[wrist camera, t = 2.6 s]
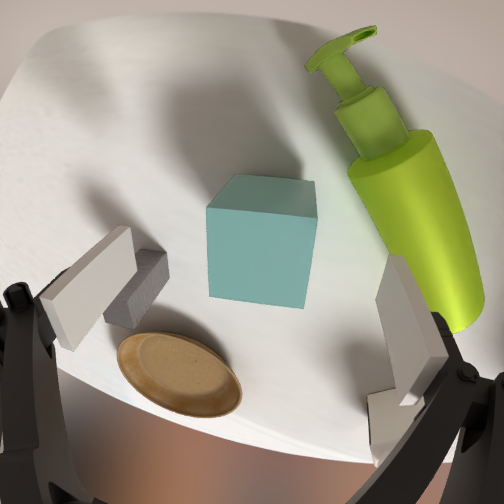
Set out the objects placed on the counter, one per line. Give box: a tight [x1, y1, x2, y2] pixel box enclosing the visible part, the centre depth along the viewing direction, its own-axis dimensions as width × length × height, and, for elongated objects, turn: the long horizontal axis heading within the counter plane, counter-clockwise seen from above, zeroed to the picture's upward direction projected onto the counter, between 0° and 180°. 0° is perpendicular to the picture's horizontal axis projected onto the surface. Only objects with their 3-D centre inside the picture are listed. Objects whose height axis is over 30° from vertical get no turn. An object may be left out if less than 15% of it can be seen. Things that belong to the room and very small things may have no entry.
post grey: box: [103, 249, 170, 330], centre depth 23 cm, size 3×3×7 cm
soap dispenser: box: [305, 26, 485, 334], centre depth 16 cm, size 6×7×20 cm
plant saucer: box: [117, 332, 242, 418], centre depth 31 cm, size 15×15×3 cm
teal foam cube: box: [206, 174, 318, 309], centre depth 18 cm, size 5×5×7 cm
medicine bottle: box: [366, 388, 434, 482], centre depth 25 cm, size 7×7×12 cm
